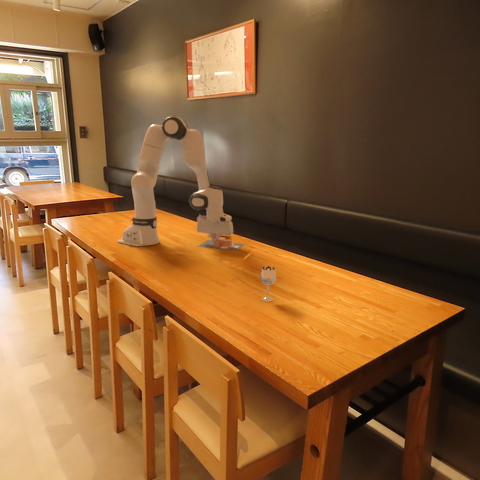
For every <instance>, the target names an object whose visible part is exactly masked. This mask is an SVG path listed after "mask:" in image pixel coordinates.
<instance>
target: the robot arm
mask: <svg viewBox="0 0 480 480" xmlns="http://www.w3.org/2000/svg"><path fill="white" fill-rule="evenodd" d="M143 138H144V139H143V141H142V145H141V149H140V151H139V152H140V154H139V157H138V164H137V165H138V166H137V170H136V173H134V175H133V176H132V177H131V180H130V186H131V192H132V197H133V203H134V204H133V205H134V206H133V207H134V217H132V218H131V219H130V222H132V224H130V225H129V226H128V227H126V228H125V229H124V230H123V232H122V236H121V238H120V239H118V241H117V242H118V244H123V245H129V246H134V247H143V246H145V247H146V246H151V245H152V246H153V245H157V244H159V243H160V239H159V236H158V235H159V234H158V227H157V226H158V223H157V222H158V220H157V219H158V218H157V216H156V214H157V212H156V210H157V209H156V200H155V199H156V198H155V193H154V192H155V191H154V187H155V186H156V183H157V180H158V175H159V170H160V165H161V161H162V158H163V153H164V150H165V147H166V143H167V141H168V140H169V139H171V140H172V139H173V140H179V141H180V143H181V145H182V153H183V159H184V163H185V164H186V166H187V167H188V168H190V169H191V170H192V171H193V172H194V173H195V176H196V180H197V184H198V185H197V187H198V191H195V192H193V193H192V194H190V196H189V197H188V203H189V206H190V207H191V208H192V209H193V210H196V211H200V210H201V211H202V210H206V215H201V214H199V215H198V216H197V217H196V222H197V223H196V232H198V233H203V234H207V233H210V238H211V240H212V242H214V241H215V240H217V239H218V238H220V237H221V236H220V235H222V236H232V235H233V233H234V225H233V222H232V220H233V219H232V216H231V215H229V214H226V213H224V209H223V206H224V195H223V189H222V188H221V187H220V186H217V185H211V184H210V177H209V173H208V167H207V162H206V156H205V155H206V153H205V146H204V141H203V137H202V134H201V132H200V131H199V129H195V128H188V124H187V122H186V121H185V120H184V119H183V118H181V117H179V116H173V115H172V116H168V117H166V118H165V119H164V120H163V122H162V123H161V124H151V125H150V126H148V128H147V130H146V133H145V136H144V137H143ZM213 234H216V236H217V237H213ZM219 236H220V237H219Z"/></svg>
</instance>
